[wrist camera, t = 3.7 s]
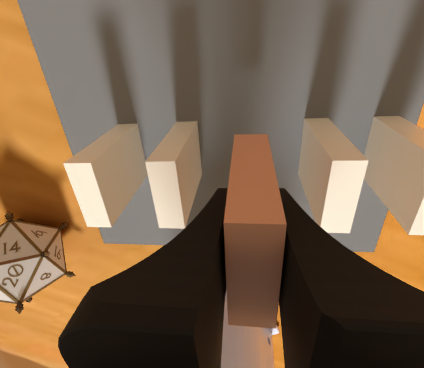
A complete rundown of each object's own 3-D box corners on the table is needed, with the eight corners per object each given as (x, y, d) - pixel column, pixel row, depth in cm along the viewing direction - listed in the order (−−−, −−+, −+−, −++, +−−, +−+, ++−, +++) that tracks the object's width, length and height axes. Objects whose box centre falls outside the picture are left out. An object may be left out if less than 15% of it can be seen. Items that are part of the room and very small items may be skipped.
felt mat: (481, -81, 13) (485, -82, 13) (373, 250, 24) (373, 252, 24) (10, -26, 16) (7, -27, 16) (105, 241, 27) (104, 243, 27)
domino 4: (328, 117, 18) (368, 160, 12) (319, 173, 20) (349, 233, 14) (304, 118, 18) (332, 160, 12) (298, 173, 21) (319, 232, 15)
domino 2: (197, 121, 19) (175, 161, 13) (202, 173, 22) (185, 228, 15) (176, 121, 20) (145, 161, 14) (183, 173, 22) (159, 227, 16)
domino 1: (137, 123, 20) (90, 163, 14) (148, 174, 22) (111, 227, 16) (117, 124, 20) (63, 163, 14) (130, 174, 22) (87, 226, 16)
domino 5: (399, 115, 18) (478, 159, 12) (382, 173, 20) (441, 235, 14) (373, 116, 18) (439, 159, 12) (359, 173, 20) (408, 234, 14)
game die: (58, 197, 30) (-29, 187, 20) (109, 248, 29) (45, 265, 19) (3, 257, 29) (-114, 277, 19) (53, 311, 28) (-43, 362, 18)
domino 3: (267, 134, 13) (286, 224, 7) (263, 208, 15) (276, 328, 9) (234, 134, 13) (223, 223, 7) (235, 208, 15) (228, 325, 9)
